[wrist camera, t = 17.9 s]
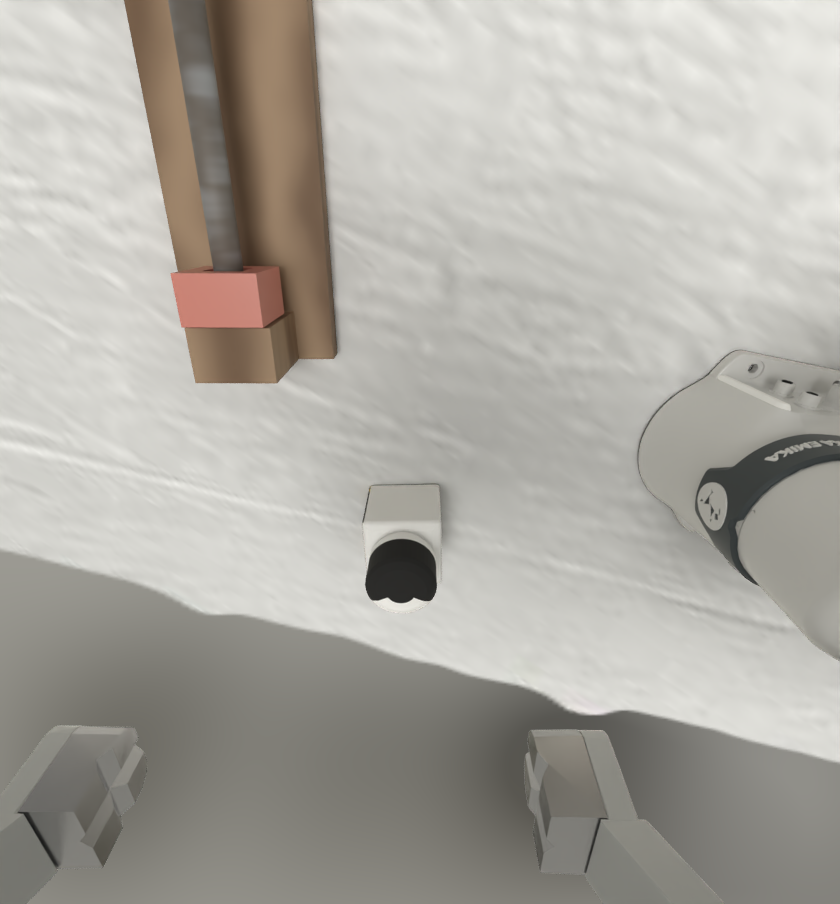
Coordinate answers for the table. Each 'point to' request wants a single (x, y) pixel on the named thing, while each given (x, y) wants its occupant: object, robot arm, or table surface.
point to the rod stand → (241, 166)
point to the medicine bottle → (402, 546)
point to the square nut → (228, 297)
